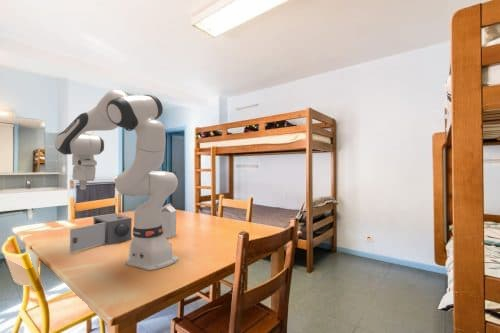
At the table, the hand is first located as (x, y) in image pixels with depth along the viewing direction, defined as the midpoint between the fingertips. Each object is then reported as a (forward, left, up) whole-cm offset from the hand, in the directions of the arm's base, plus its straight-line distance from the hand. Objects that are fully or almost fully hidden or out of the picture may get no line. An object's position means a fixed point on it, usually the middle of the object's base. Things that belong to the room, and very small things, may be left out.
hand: (82, 189), depth 117 cm
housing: (+4, -16, -29) cm, 33 cm away
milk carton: (-16, -38, -30) cm, 51 cm away
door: (-5, -2, -28) cm, 29 cm away
